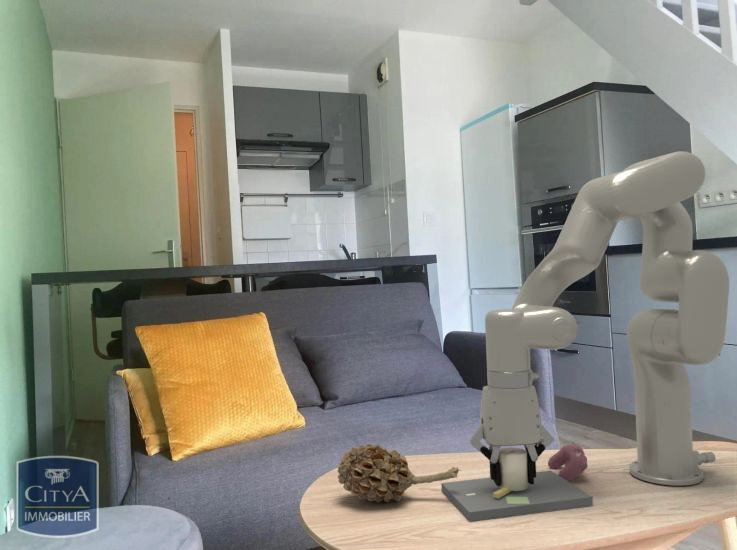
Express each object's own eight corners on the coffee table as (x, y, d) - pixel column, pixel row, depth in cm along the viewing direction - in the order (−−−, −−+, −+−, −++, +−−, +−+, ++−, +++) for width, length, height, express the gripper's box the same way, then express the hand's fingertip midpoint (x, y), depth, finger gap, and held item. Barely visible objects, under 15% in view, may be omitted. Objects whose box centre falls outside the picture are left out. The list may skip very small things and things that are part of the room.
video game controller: (579, 492, 109) (595, 458, 109) (556, 481, 109) (572, 447, 109) (566, 474, 119) (580, 443, 119) (545, 464, 119) (559, 433, 119)
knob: (508, 482, 107) (506, 445, 107) (533, 488, 104) (531, 450, 104) (482, 496, 101) (481, 457, 101) (508, 502, 97) (507, 462, 97)
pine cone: (336, 513, 100) (334, 455, 100) (340, 492, 110) (338, 439, 110) (466, 509, 100) (463, 450, 100) (458, 488, 109) (456, 435, 109)
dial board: (551, 478, 113) (550, 470, 113) (593, 505, 99) (592, 496, 99) (441, 491, 108) (441, 482, 108) (469, 521, 94) (469, 511, 94)
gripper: (549, 374, 108) (554, 473, 107) (457, 378, 107) (461, 477, 107) (564, 381, 100) (569, 487, 100) (465, 385, 100) (469, 492, 100)
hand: (513, 481), depth 104 cm, fingers closed on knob, 5 cm apart
